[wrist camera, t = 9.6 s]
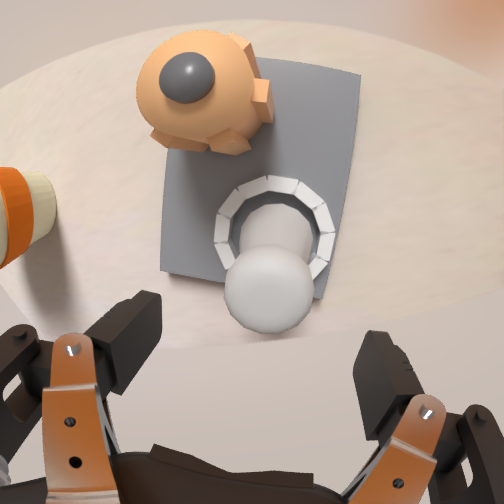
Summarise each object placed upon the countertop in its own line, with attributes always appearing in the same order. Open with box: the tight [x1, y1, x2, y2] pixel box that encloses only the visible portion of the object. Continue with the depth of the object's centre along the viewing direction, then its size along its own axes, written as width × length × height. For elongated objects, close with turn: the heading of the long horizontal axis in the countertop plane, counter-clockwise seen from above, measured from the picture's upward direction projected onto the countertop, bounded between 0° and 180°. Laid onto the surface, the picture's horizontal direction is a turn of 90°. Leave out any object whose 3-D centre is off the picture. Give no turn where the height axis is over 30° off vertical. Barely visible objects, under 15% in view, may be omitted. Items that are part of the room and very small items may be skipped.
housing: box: [136, 30, 361, 299], centre depth 19 cm, size 16×21×13 cm
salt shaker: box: [224, 204, 315, 334], centre depth 18 cm, size 6×6×13 cm
